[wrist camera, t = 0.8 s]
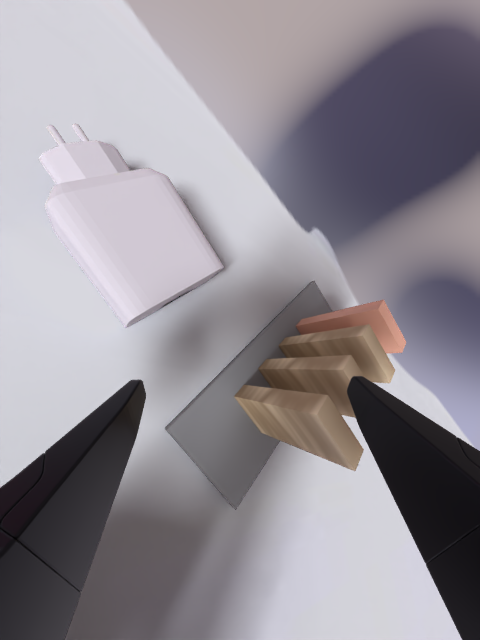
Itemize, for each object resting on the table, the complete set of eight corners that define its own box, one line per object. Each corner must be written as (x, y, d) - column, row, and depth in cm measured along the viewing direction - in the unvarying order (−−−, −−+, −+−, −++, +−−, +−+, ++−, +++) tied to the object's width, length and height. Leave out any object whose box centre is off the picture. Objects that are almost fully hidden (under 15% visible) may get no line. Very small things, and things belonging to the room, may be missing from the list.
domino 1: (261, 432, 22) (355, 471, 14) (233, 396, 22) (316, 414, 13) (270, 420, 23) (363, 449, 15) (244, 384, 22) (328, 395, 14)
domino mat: (232, 506, 20) (235, 510, 20) (164, 428, 18) (166, 430, 18) (343, 336, 34) (346, 336, 33) (310, 282, 32) (314, 280, 32)
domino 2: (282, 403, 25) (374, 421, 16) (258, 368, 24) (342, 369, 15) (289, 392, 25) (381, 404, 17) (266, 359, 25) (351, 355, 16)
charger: (119, 146, 21) (206, 282, 23) (-2, 160, 16) (124, 330, 18) (123, 95, 17) (228, 265, 19) (-36, 92, 12) (131, 320, 14)
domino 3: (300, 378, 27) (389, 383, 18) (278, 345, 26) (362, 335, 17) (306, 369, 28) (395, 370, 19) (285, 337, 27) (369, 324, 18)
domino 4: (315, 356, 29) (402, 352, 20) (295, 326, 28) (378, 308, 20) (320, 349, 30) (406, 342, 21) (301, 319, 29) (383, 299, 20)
